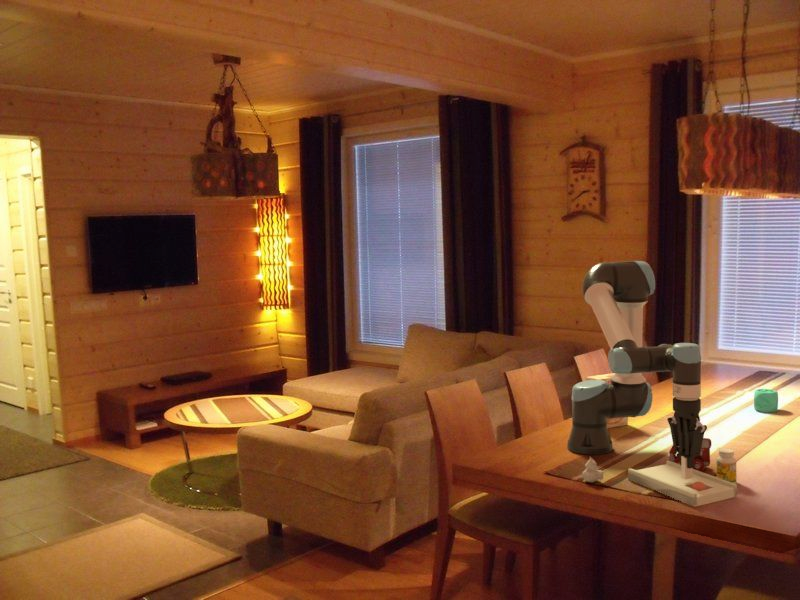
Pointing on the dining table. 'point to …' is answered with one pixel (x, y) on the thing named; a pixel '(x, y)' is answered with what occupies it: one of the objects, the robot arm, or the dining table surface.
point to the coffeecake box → (610, 421)
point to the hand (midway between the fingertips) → (686, 478)
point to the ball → (698, 486)
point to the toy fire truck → (700, 460)
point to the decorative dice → (766, 400)
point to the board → (683, 484)
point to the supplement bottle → (726, 465)
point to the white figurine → (592, 472)
